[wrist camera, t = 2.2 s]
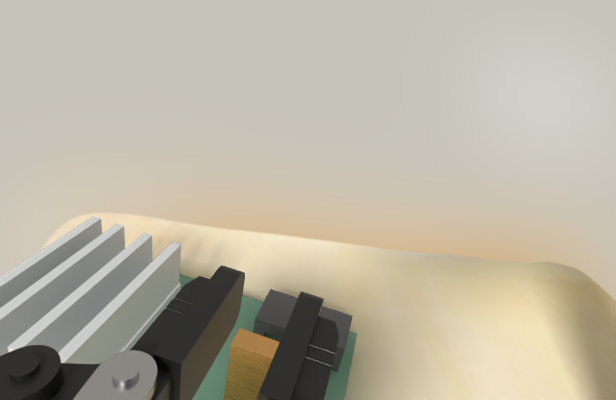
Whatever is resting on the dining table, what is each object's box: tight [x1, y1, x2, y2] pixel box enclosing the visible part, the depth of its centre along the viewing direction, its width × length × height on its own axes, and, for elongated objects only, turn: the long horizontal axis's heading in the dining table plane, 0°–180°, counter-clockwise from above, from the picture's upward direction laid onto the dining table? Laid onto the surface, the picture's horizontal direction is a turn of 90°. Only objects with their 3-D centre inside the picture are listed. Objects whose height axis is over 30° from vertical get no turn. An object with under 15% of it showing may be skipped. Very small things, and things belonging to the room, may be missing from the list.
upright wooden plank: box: [223, 328, 280, 400], centre depth 26 cm, size 6×5×11 cm
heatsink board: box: [0, 216, 357, 400], centre depth 28 cm, size 24×24×11 cm
